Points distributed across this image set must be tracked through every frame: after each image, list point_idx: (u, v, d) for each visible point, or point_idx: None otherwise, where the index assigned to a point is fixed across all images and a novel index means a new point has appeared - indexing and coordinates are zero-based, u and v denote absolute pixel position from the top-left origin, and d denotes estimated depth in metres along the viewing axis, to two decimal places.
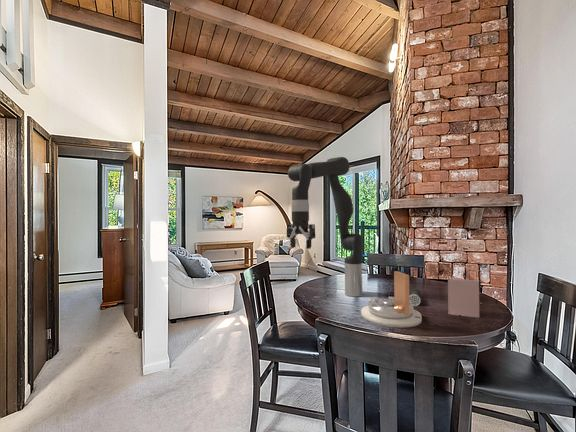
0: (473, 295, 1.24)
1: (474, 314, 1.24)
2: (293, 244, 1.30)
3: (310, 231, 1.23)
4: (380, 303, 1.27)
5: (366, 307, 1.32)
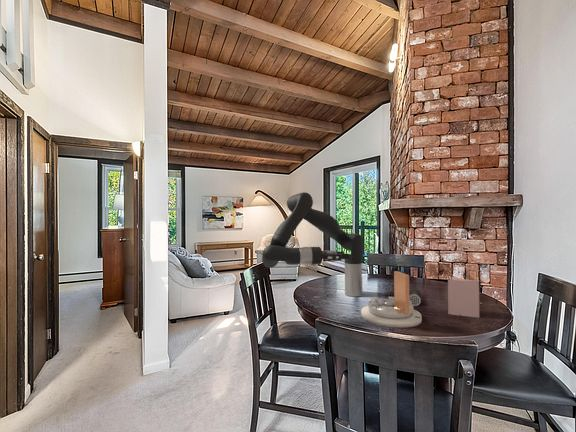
0: (473, 295, 1.24)
1: (474, 314, 1.24)
2: None
3: None
4: (380, 303, 1.27)
5: (366, 307, 1.32)
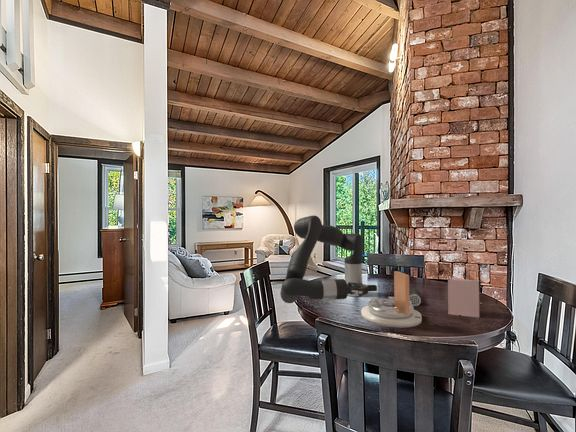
0: (473, 295, 1.24)
1: (474, 314, 1.24)
2: None
3: None
4: (380, 303, 1.27)
5: (366, 307, 1.32)
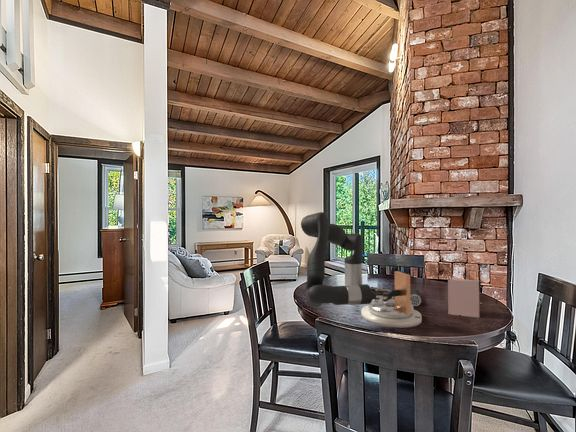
0: (473, 295, 1.24)
1: (474, 314, 1.24)
2: None
3: None
4: (380, 303, 1.27)
5: (366, 307, 1.32)
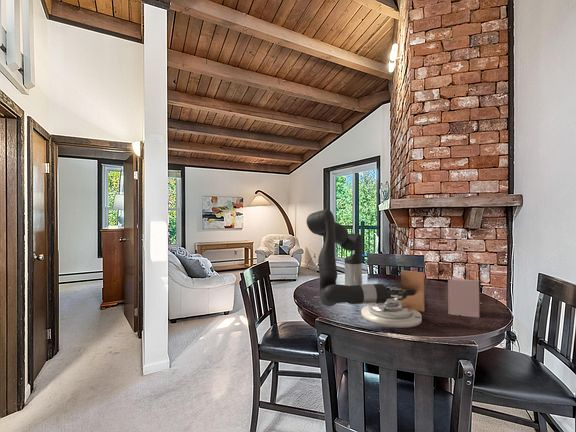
0: (473, 295, 1.24)
1: (474, 314, 1.24)
2: None
3: None
4: (382, 305, 1.24)
5: (366, 307, 1.32)
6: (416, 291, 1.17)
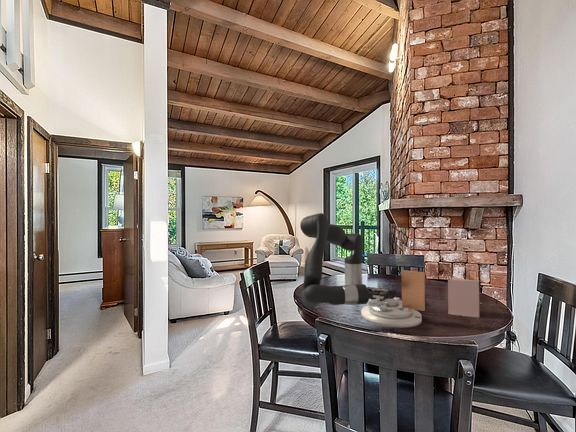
0: (473, 295, 1.24)
1: (474, 314, 1.24)
2: None
3: None
4: (382, 305, 1.24)
5: (366, 307, 1.32)
6: (417, 291, 1.18)
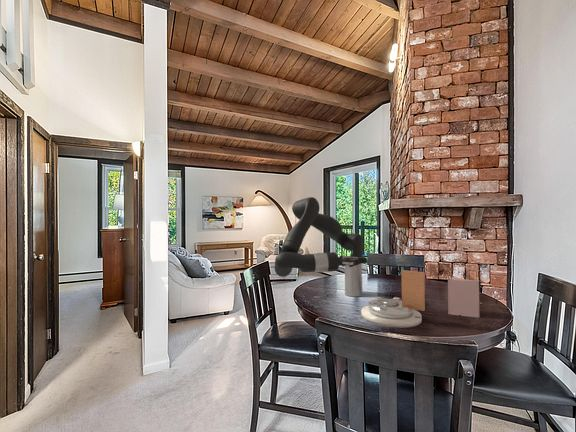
0: (473, 295, 1.24)
1: (474, 314, 1.24)
2: None
3: None
4: (382, 305, 1.24)
5: (366, 307, 1.32)
6: (417, 291, 1.18)
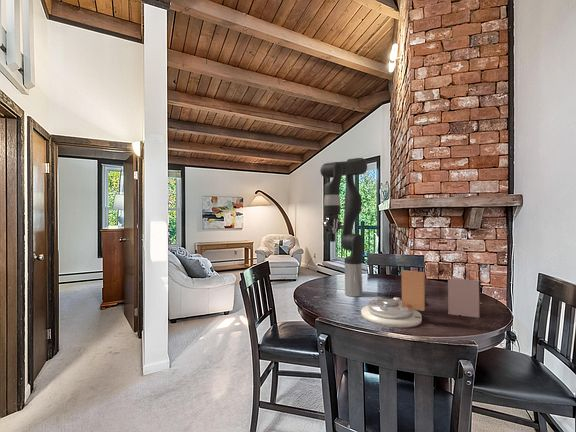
0: (473, 295, 1.24)
1: (474, 314, 1.24)
2: None
3: None
4: (382, 305, 1.24)
5: (366, 307, 1.32)
6: (417, 291, 1.18)
